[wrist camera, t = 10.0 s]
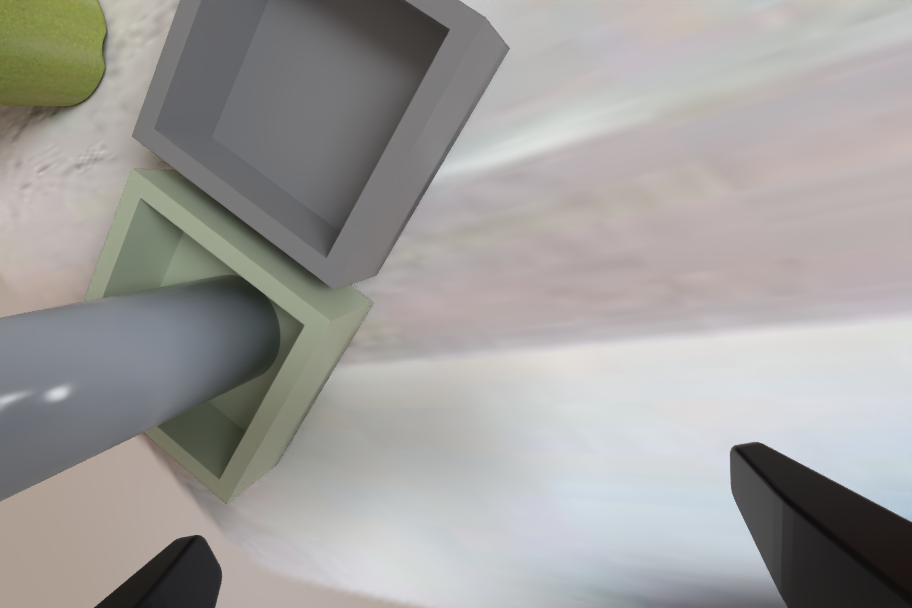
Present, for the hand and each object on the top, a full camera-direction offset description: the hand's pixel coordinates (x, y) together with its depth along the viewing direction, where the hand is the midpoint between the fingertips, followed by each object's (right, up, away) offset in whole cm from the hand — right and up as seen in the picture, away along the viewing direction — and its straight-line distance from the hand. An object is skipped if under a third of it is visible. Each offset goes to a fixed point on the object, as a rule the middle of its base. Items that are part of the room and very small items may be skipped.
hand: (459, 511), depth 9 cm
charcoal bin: (-5, +12, +12) cm, 18 cm away
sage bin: (-10, +3, +16) cm, 19 cm away
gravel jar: (-10, +2, +15) cm, 19 cm away
